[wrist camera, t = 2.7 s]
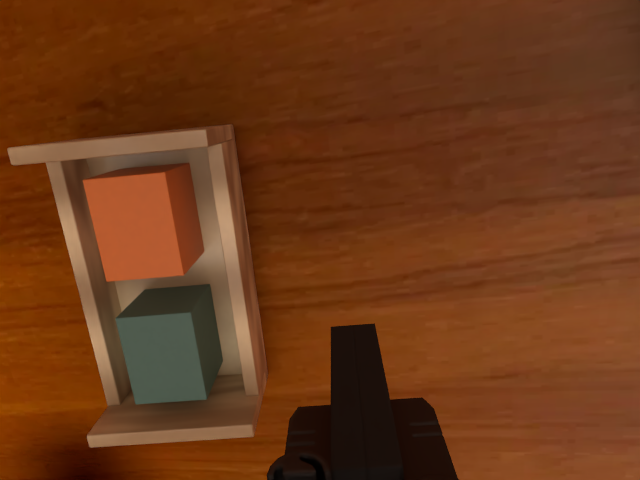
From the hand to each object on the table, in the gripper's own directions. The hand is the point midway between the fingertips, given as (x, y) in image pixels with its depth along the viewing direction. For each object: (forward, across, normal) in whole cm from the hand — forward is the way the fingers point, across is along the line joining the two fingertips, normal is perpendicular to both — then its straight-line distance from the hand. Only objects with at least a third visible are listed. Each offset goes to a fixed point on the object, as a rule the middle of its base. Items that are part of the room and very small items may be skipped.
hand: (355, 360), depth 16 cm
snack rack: (+12, -10, 0) cm, 16 cm away
